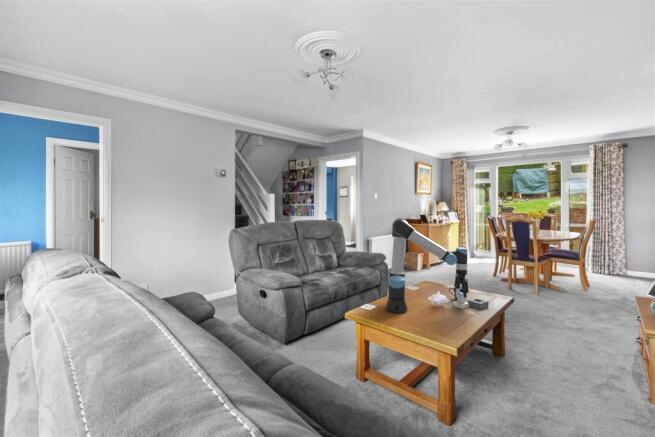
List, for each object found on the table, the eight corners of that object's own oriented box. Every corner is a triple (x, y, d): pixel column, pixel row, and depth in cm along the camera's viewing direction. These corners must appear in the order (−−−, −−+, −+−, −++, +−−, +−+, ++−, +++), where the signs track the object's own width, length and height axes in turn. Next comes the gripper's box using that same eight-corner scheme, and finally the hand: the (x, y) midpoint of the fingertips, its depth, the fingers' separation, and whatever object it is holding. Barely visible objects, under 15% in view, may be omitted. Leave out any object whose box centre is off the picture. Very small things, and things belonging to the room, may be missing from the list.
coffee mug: (467, 300, 244) (468, 287, 243) (461, 302, 239) (461, 289, 238) (454, 296, 253) (454, 284, 253) (447, 298, 248) (448, 286, 248)
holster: (452, 306, 229) (452, 302, 229) (459, 304, 234) (459, 300, 234) (462, 310, 223) (462, 305, 223) (469, 307, 227) (469, 303, 227)
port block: (467, 306, 229) (467, 299, 229) (475, 304, 235) (475, 297, 234) (480, 310, 221) (480, 303, 221) (488, 308, 226) (488, 301, 226)
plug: (457, 306, 229) (457, 292, 228) (460, 305, 231) (460, 291, 230) (461, 307, 226) (461, 293, 225) (464, 306, 228) (464, 293, 227)
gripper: (474, 272, 216) (473, 304, 217) (459, 265, 238) (458, 294, 239) (463, 272, 215) (463, 304, 217) (449, 265, 237) (449, 295, 239)
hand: (461, 299), depth 228 cm, fingers open, 9 cm apart
